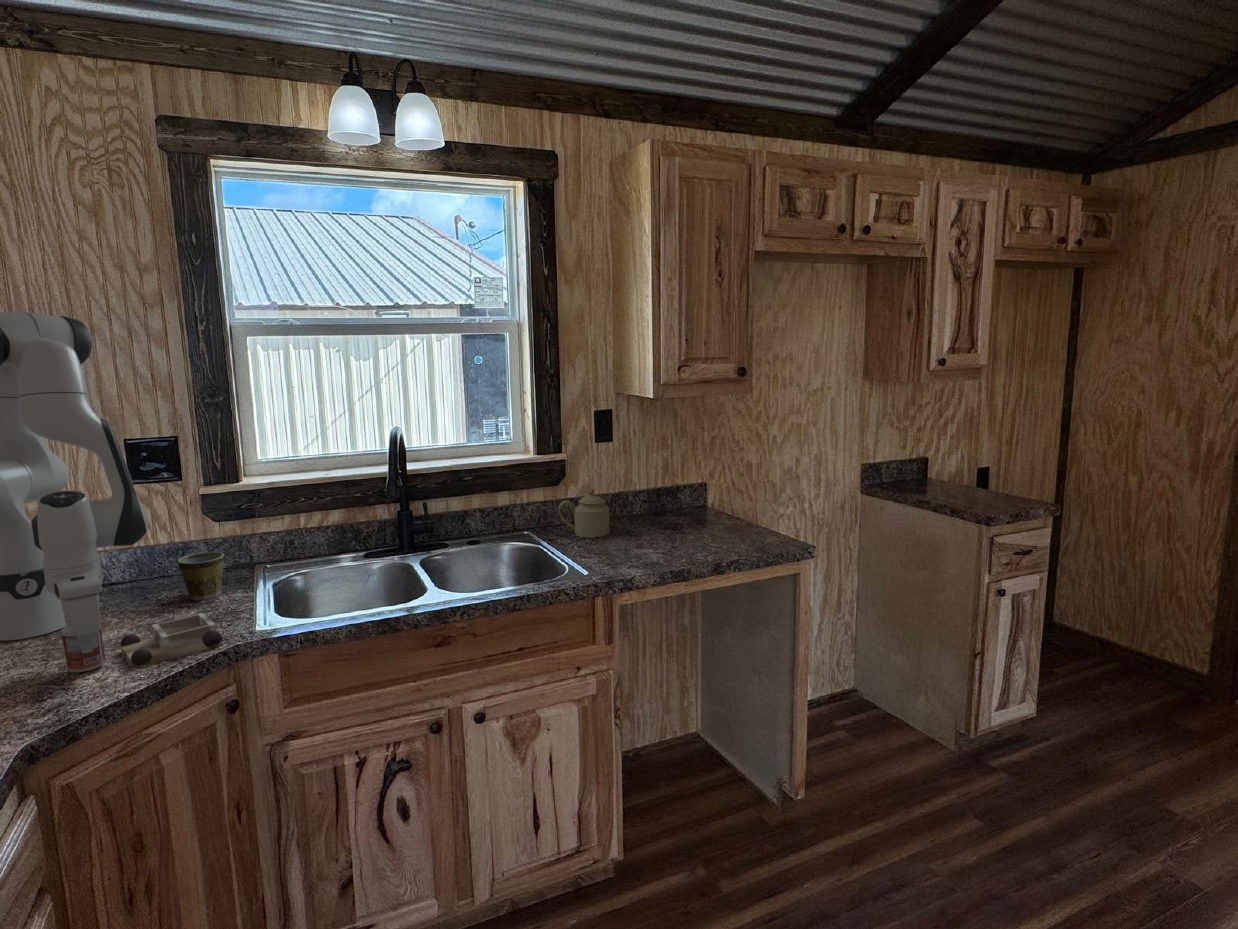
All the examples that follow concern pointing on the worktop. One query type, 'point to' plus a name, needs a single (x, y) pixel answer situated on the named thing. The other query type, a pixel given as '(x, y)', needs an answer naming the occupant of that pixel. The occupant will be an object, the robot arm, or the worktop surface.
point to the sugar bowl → (589, 516)
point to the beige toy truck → (171, 640)
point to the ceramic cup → (202, 574)
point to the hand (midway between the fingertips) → (83, 645)
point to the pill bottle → (73, 653)
